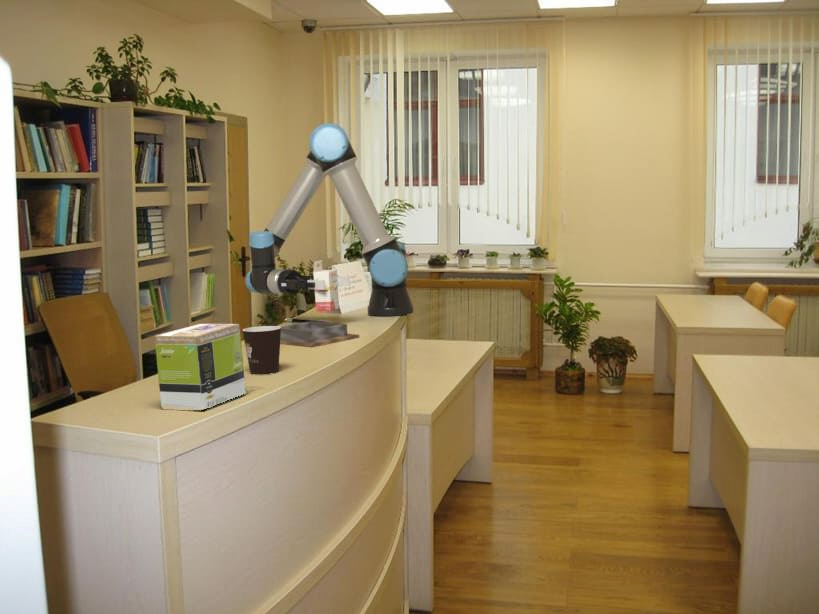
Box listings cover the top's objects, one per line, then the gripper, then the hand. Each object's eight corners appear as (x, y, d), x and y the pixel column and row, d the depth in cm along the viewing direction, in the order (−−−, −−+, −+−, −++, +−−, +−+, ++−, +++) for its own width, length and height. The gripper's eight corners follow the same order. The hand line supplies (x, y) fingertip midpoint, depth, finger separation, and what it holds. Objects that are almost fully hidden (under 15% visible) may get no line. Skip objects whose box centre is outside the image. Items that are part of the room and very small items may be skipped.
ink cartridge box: (332, 311, 270) (328, 261, 268) (315, 312, 271) (312, 261, 269) (340, 307, 278) (336, 258, 277) (324, 308, 279) (320, 259, 278)
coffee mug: (284, 374, 208) (281, 330, 207) (245, 377, 207) (242, 332, 205) (282, 365, 219) (280, 323, 218) (245, 368, 218) (242, 325, 217)
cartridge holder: (309, 332, 271) (309, 320, 270) (359, 337, 258) (358, 323, 257) (262, 341, 257) (261, 328, 257) (312, 347, 244) (311, 332, 244)
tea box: (205, 393, 191) (200, 322, 189) (247, 395, 187) (242, 322, 185) (159, 410, 177) (153, 333, 175) (203, 412, 173) (197, 334, 171)
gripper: (312, 289, 294) (363, 291, 280) (258, 298, 278) (309, 300, 263) (310, 266, 293) (362, 266, 279) (256, 273, 277) (307, 274, 262)
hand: (336, 283), depth 271 cm, fingers closed on ink cartridge box, 9 cm apart
